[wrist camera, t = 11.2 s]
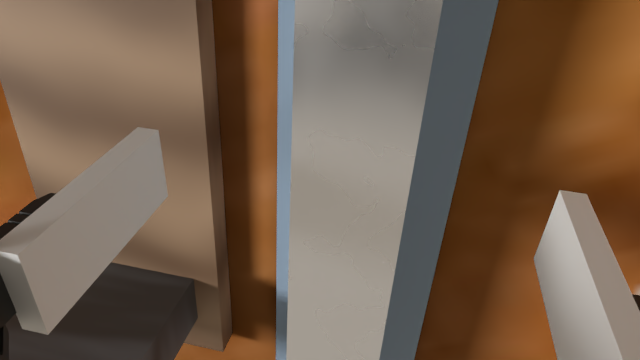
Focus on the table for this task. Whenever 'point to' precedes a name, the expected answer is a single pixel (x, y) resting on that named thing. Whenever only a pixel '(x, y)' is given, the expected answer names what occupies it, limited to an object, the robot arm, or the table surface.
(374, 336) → the rail
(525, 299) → the table surface
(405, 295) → the mat
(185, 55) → the wooden stand
